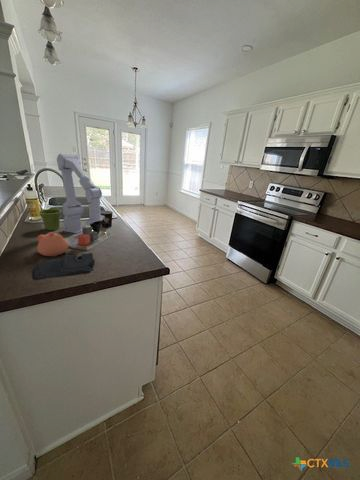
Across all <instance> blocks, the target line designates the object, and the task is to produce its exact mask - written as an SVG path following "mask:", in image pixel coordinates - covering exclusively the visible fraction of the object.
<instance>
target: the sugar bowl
mask: <svg viewBox="0 0 360 480" xmlns="http://www.w3.org/2000/svg"><path fill="white" fill-rule="evenodd" d="M37 240H38V241H37V242H38V243H37V252H38V253H39V254H40V255H42V256H45V257H57V256H59V255H62V254H64V253H65V252H67V250H68V249H69V247H68V244H67V242H66V240H65V237H64V236H63V235H61V234H60V233H55V232H54V231H50V232H47V233H46V234H39V235H37Z"/></svg>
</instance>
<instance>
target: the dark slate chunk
mask: <svg viewBox="0 0 360 480" xmlns="http://www.w3.org/2000/svg"><path fill="white" fill-rule="evenodd" d="M95 262H96V261H95V259H94V254H93V253H92V252H89V253H81V255H79V256H78V255H77V254H73V255H72V254H71V255H69V254H68V255H67V254H66V255H63V256H62V257H60V258H53V259H41V260H38V261H37V263H36V265H35V267H34V270H33V278H34V280H35V281H36V280H45V279H53V278H62V277H63V278H64V277H68V276H76V275H83V274H90V273H91V272H93V271H94V270H95V269H94V266H95Z"/></svg>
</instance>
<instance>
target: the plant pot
mask: <svg viewBox="0 0 360 480" xmlns="http://www.w3.org/2000/svg"><path fill="white" fill-rule="evenodd" d="M61 212H62V210H61V209H56V208H48V209H47V208H46V209H41V210H38V212H37V213H38V214H39V216H40V217H41V220H42V222H43V224H44V228H45V230H47V231H56V230H59V229H60V219H61V217H60V216H61Z"/></svg>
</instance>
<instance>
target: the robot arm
mask: <svg viewBox="0 0 360 480" xmlns="http://www.w3.org/2000/svg"><path fill="white" fill-rule="evenodd" d="M56 163H57V167H58V171H60V172H61V176H62V183H63V187H64V188H63V189H64V195H65V197H66V198H65V199H66V201H65V202H64V203H63V204H62V214H63V216H64V217H63V219H62V220H63V221H62V223H63V232H68V233H73V234H77V233H79V232H82V228H83V227H82V218H81V217H82V215H83V214H84V208H83V206H82V203H81V202H79V201H78V200H77V196H76V191H75V186H74V185H75V183H74V179H73V175H72V174H73V172H74V173H75V175H76V176H77V177H78V178H79V180H78V181H79V182H78V183H79V184H80V185H81V187H82V189H83V190H84V191H85V192H84V194H85V198H86V202H87V204H88V215H89V218H88V219H87V220H85V221H84V223H85V226H91V230H93V231H94V232H98V234H99V231H101V227H102V220H103V219H105V216H103V215H101V211H102V210H101V199H102V197H103V193H102V190H101V188H100V187H99V186H96V185H95V184H94V182H93V181H92V179H91V177H90V176H88V175H87V174H86V173H85V172H84V170H83V168H82V166H81V159H80V158H79V156H78V155H77V154H75V155H74V154H62V153H59V154H58V155H57V156H56Z"/></svg>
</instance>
